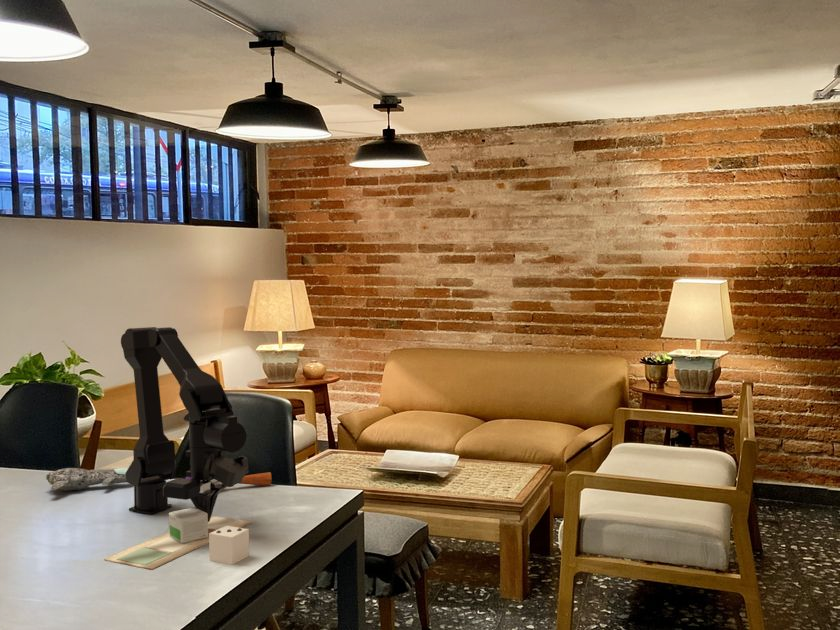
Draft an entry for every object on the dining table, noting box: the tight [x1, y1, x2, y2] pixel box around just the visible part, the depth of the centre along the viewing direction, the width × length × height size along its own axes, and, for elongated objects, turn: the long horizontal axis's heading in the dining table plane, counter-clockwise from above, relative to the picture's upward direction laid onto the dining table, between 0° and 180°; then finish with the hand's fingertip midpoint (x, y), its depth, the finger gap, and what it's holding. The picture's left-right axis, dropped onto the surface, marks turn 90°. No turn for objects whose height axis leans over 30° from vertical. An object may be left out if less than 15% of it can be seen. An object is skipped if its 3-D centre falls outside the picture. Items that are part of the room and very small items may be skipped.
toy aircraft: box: [45, 467, 129, 492], centre depth 194 cm, size 16×20×5 cm
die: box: [208, 526, 250, 565], centre depth 149 cm, size 5×5×5 cm
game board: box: [103, 514, 252, 571], centre depth 158 cm, size 11×29×1 cm, turn 156°
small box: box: [168, 506, 208, 543], centre depth 159 cm, size 6×6×5 cm
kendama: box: [184, 472, 273, 487], centre depth 194 cm, size 6×6×20 cm
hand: (206, 522), depth 164 cm, fingers closed
